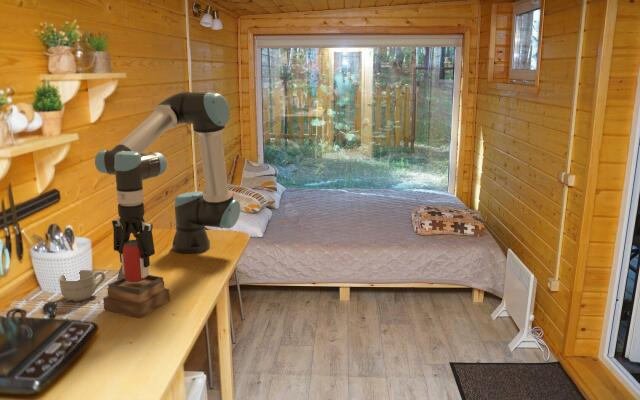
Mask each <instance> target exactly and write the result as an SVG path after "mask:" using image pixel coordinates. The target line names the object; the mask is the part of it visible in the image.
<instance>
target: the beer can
mask: <svg viewBox="0 0 640 400" xmlns="http://www.w3.org/2000/svg"><path fill="white" fill-rule="evenodd" d="M140 257H142V255H141V252H140V249H139V246H138V243H137V240H136V239H129V241H126V242H125V243H124V247H123V262H124V275H125V280H126V281H128V282H139V281H142V280H144V279H145V278H146V277H147V276H146V277H144V278H141V268H140Z"/></svg>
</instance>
